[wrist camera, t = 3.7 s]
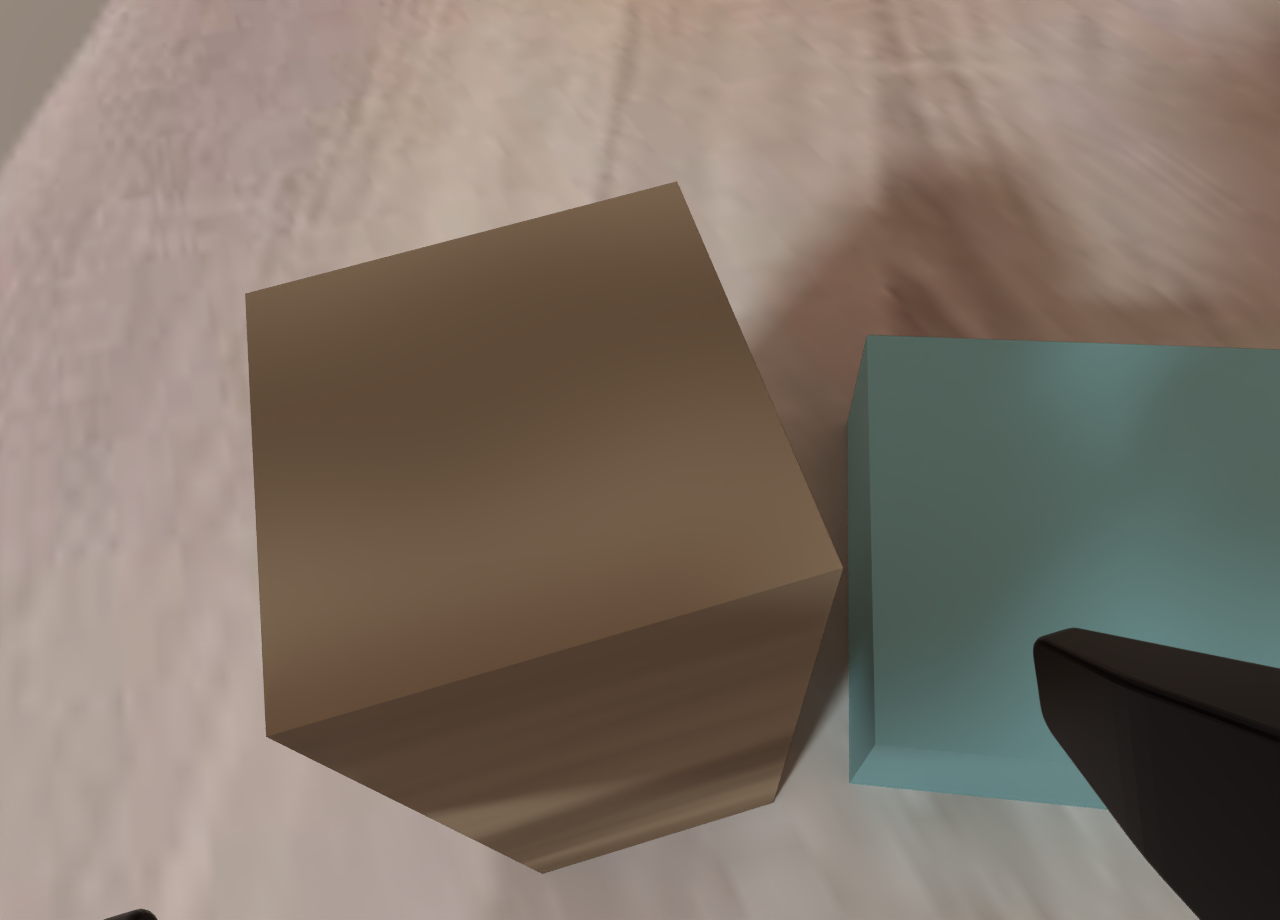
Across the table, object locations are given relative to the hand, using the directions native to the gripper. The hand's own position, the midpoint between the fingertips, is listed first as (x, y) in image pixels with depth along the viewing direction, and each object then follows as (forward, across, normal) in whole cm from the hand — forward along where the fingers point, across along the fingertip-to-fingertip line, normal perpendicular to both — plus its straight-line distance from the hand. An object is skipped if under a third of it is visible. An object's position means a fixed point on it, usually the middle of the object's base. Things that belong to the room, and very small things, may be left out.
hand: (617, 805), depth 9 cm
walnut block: (+10, 0, +5) cm, 11 cm away
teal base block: (+10, -10, +5) cm, 15 cm away
